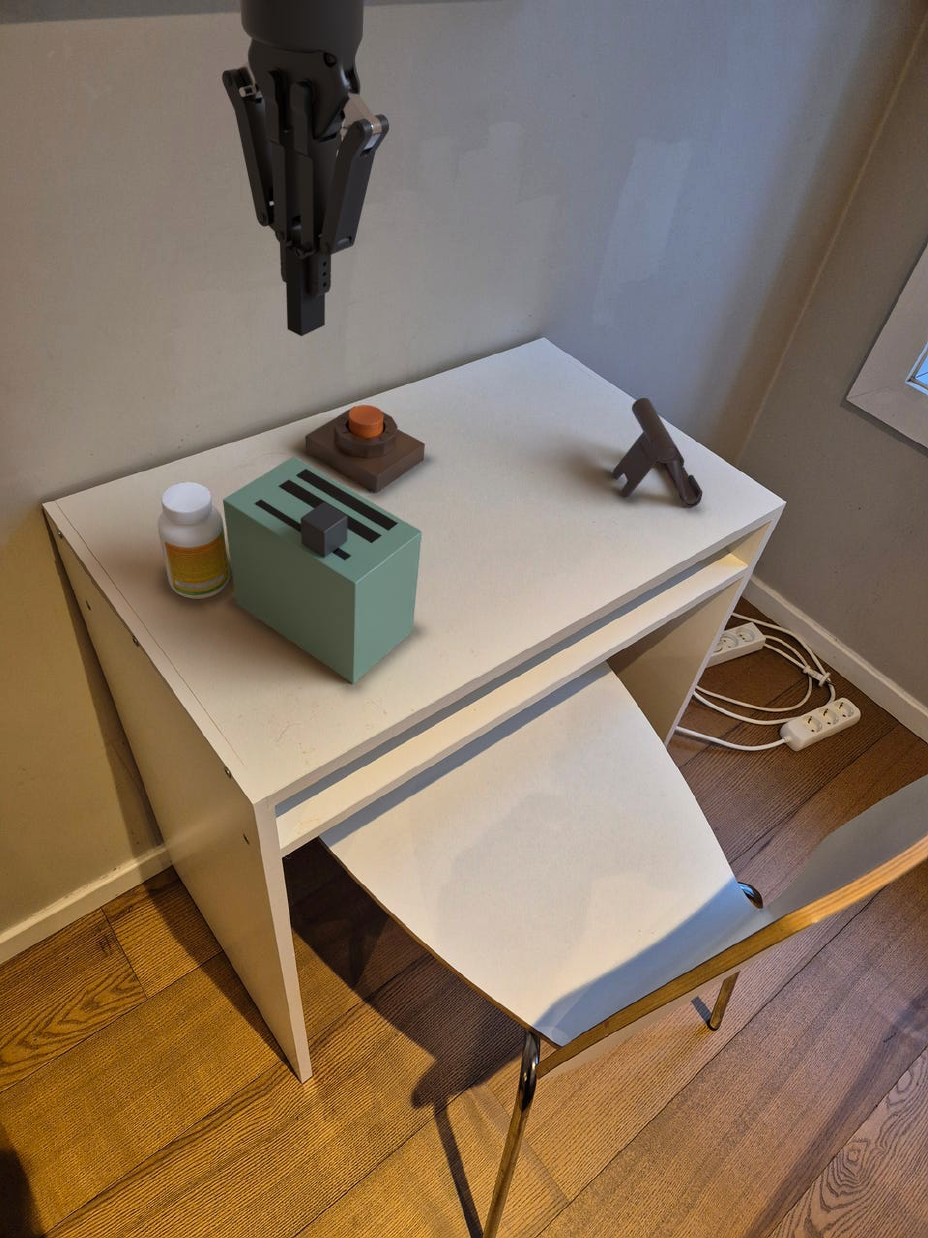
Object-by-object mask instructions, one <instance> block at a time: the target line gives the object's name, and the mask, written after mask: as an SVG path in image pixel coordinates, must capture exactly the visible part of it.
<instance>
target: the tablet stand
mask: <svg viewBox="0 0 928 1238" xmlns="http://www.w3.org/2000/svg"><path fill="white" fill-rule="evenodd" d="M631 412H632V414H633V415H634V417H635V419H636V421H637V423H638V424H639V426H640V428H641V430H642V433H641V434H640V435H639V436H638V438H637V439H636V440H635V442H634V443H633V444H632V446H630V448H629V449H628V450H627V452H626V453H625V455H623V457H622V458H621V459H620V461H619V462H618V463H617V465H616V466H615V467H614V468H613V471H612V474H613V476H614V478H615V480H619V479H620V478H621V476H622V475H624V476H625V478H626V483H625V484H624V486H623V487H622V489H621V490H620V491H621V493H622V495H623V497H624V498H629V497H630V495H631V494H633V492H634V491H635V490H636V488H637V487H638V486H639V485H640V484H641V483H642V481H643V480H644V478H645V477H646V476H647V475H648V474H649V472H650V471H651V470H652V468H654V466H655V465H656V464H657V462H658V461H659V462H660V464H661V466H662V467H663V468H664V470H665V472H666V474H667V476H668V477H669V479H670V481H671V483H672V485H673V487H674V489H675V491H676V492H677V494H678V498H679V500H680V501H681V503H682V504H683V505H684V506H685V508H688V509H691V508H695V507H696V506H698V505H699V504H700V503H701V502H702V498H703V493H704V491H703V490H702V488H701V487H700V485H699V483H698V481H697V480H696V478H695V476H694V475H693V474H689V473H688V471H687V470H686V468H685V467H684V466H685V459H684V457H683V455H682V454H681V452H680V450H679V447H677V444H675V442H674V440H673V438H672V436H671V434H670V433H669V431H668V429H667V427H666V426H665V424H664V422H663V421H662V419H661V417H660V415H659V413H658V412H657V410H656V408H655V407H654V405H653V403H652V401H651V400H650V399H649V398H647V397H641V398H638V399H637V400H635V401H634V402H633V404H632V405H631Z"/></svg>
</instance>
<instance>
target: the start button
mask: <svg viewBox="0 0 928 1238" xmlns="http://www.w3.org/2000/svg"><path fill="white" fill-rule="evenodd" d="M355 406H356V407H354V406H353V407H354V408H353V407H351V408H352V409H351V408H350V409H351V410H350V412H349V431H350V432H351V433H352V434H354V435H356V436H359V437H365V438H370V437H376V436H379V435H380V434H381V433H382V431H383V413H382V412H383V411H382V410H381V409H380V408H378V407H376V406H373V405H368V404H361V405H355Z"/></svg>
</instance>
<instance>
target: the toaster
mask: <svg viewBox="0 0 928 1238" xmlns="http://www.w3.org/2000/svg"><path fill="white" fill-rule="evenodd" d="M324 502H325V503H327V504H328V505H330V506H332V507H333V508H335V509H337V510H338V511H340V512H342V513H343V514H345V515H347V542H345V543H344V544H343V545H341V546H340V547H339V548H337V549H336V550H334V551H333V552H332V553H330V554H329V555H328V556H326V557H323V556H321V555H319V554H318V553H316V552H315V551H313V550H311V549H310V548H308V547H307V546H305V545H304V544H302V538H301V517H303V516H304V515H306V514H307V513H309V512H310V511H312V510H313V509H315V508H316V507H318V506H319V505H321V504H322V503H324ZM222 505H223V512H224V513H223V514H224V519H225V527H226V537H227V544H228V552H229V557H230V558H229V560H230V561H229V562H230V567H231V577H232V584H233V592H234V600H235V604H236V605H238V606H239V607H240V608H242V609H244V611H247V613H249V614H250V615H252V616H254V617H255V618H256V619H258V620H259V621H261V622H262V623H264V624H265V625H267V626H268V627H270V628H271V629H273V630H274V631H276V632H277V634H280V635H281V636H283V637H284V638H285V639H287V640H288V641H290V642H291V643H293V644H294V645H296V647H299V649H301V650H302V651H304V652H306V653H307V654H309V655H310V656H312V657H313V658H315V660H317V661H318V662H320V663H322V664H323V665H324V666H326V667H328V668H329V669H331V670H332V672H333V671H334V672H335V673H336V674H337V675H339V676H341V677H342V678H343V679H345V680H346V681H348V682H349V683H351V684H352V685H354V684H355V683H357V681H359V680H360V679H361V678H362V677H363V676H364V675H365V674H366V673H368V672H369V671H370V670H371V669H372V668H374V667H375V666H376V664H378V663H379V662H380V661H381V660H382V659H384V658H385V657H386V656H387V655H388V654H389V653H390V652H392V651H393V650H394V649H395V648H396V647H397V646H398V645H399V644H400V643H402V642H403V641H404V640H405V639H406V638H407V637H408V636H410V635H411V634H412V633H413V628H414V622H415V621H414V620H415V610H416V601H417V587H418V579H419V578H418V577H419V568H420V567H419V566H420V558H421V557H420V555H421V546H422V545H421V544H422V534H423V532H422V530H420V529H418V528H416V527H415V526H414V525H412V524H410V523H408V522H407V521H405V520H403V519H401V518H399V517H398V516H396V515H394V514H393V513H392V512H389V511H388V510H386V509H385V508H382V507H381V506H379V505H378V504H376V503H374V502H372V501H370V500H369V499H367V498H366V497H364V496H362V495H360V494H359V493H357V492H355V491H354V490H352V489H350V488H349V487H347V486H345V485H343V484H341V483H340V482H338V481H336V480H335V479H333V478H332V477H330V476H328V475H327V474H325V473H324V472H321V471H320V470H318V469H316V468H314V467H313V466H311V465H309V464H308V463H306V462H304V461H303V460H301V459H299V458H297V457H296V456H292V457H290V458H288V459H287V460H285V461H283V462H282V463H280V464H278V465H276V466H275V467H273V468H272V469H271V470H269V471H267V472H266V473H264V474H262V475H260V476H259V477H257V478H256V479H254V480H252V481H251V482H249V483H248V484H246V485H244V486H243V487H241V488H239V489H238V490H235V491H234V492H233V493H231V494H230V495H228V496H226V497H224V498H223V499H222Z"/></svg>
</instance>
